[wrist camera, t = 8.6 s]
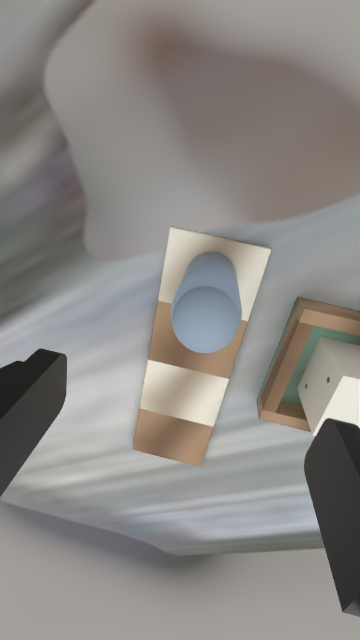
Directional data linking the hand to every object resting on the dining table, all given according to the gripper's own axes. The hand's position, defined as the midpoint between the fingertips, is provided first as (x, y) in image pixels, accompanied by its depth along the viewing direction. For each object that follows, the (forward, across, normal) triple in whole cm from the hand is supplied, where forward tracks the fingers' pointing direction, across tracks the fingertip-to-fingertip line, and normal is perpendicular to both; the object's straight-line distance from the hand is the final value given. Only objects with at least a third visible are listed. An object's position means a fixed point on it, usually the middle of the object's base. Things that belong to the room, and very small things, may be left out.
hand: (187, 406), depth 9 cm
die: (+14, -12, +5) cm, 19 cm away
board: (+14, 0, +8) cm, 17 cm away
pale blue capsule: (+14, 0, 0) cm, 14 cm away
